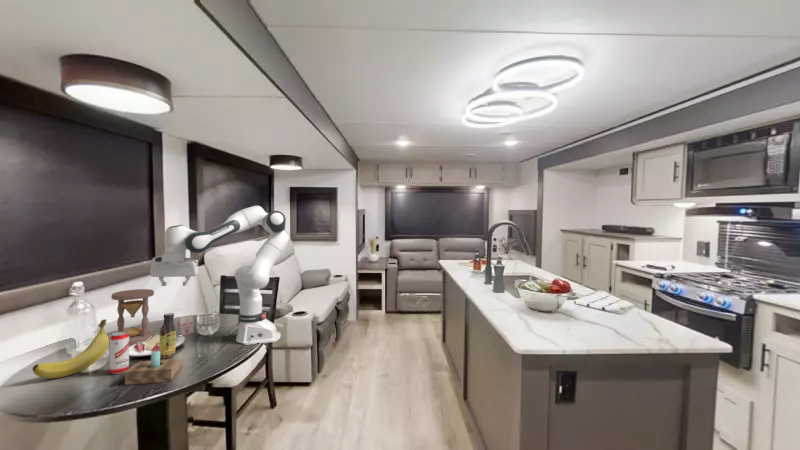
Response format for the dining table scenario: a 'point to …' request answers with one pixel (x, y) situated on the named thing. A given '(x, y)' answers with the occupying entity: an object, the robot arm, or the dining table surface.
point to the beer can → (119, 353)
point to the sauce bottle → (167, 337)
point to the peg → (155, 359)
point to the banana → (76, 358)
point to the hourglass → (134, 312)
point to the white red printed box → (185, 325)
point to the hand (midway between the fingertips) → (174, 285)
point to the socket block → (154, 372)
